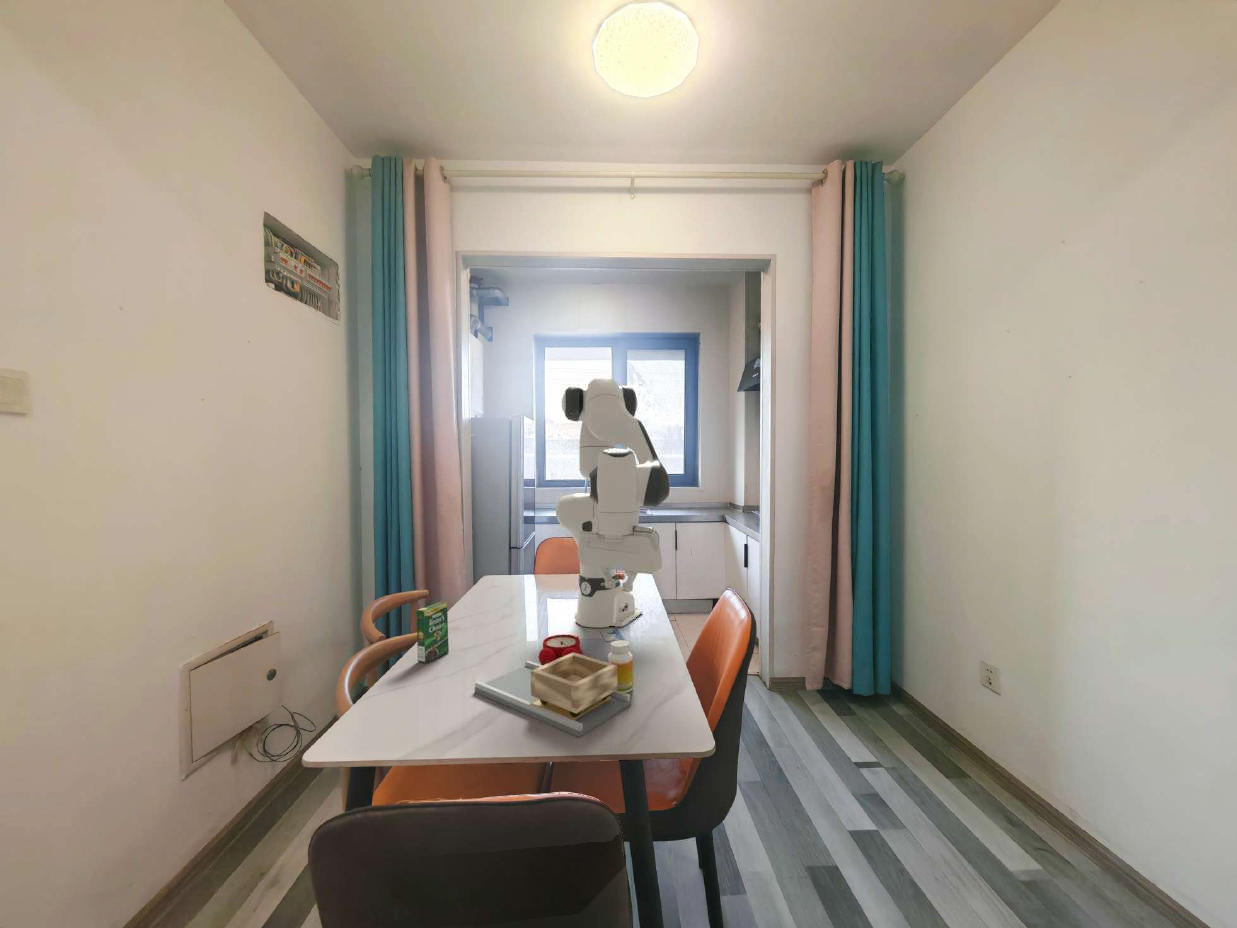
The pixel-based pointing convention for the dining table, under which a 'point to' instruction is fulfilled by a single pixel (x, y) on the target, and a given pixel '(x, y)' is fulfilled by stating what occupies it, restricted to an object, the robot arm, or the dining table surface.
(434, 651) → the coffee box
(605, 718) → the track board
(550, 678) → the open wooden crate
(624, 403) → the robot arm
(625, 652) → the supplement bottle
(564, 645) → the alarm clock
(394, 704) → the dining table surface
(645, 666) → the dining table surface
